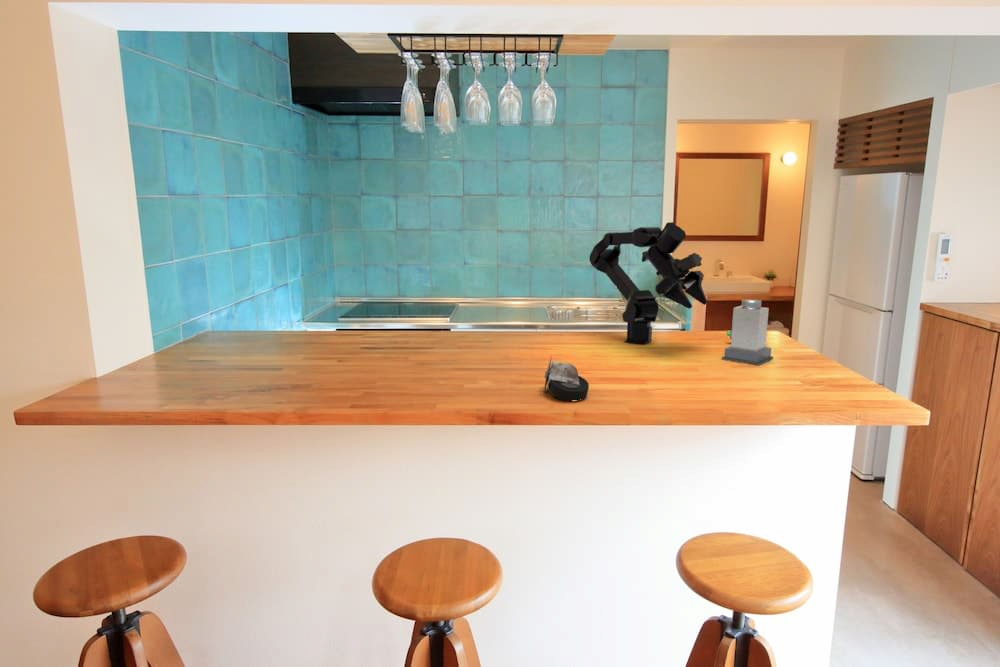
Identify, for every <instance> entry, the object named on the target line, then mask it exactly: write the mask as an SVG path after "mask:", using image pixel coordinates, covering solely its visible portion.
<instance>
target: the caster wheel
mask: <svg viewBox="0 0 1000 667" xmlns="http://www.w3.org/2000/svg"><path fill="white" fill-rule="evenodd" d="M552 358H553V357H552V355H551V356H550V360H549V362H548V366H547V368H546V370H545V373H544V379H545V383H544V389H543V393H545V392H546V389H547V390H548V391H549V392H550V393H551V394H552V396H554V397H556V398H557V399H559V400H562V401H564V400H569V401H568V402H571V401H572V400H580V399H583V400H585V399H586V398H587V397H588V392H589V388H590V386H589V385H590V384H589V382H588V381H587V380H586V379H585V378H584V377H583V376H580V375H579V371H578V369H577V366H575V365H574V364H571V363H566V362H561V361H555V360H552ZM584 398H585V399H584Z"/></svg>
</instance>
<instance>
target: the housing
mask: <svg viewBox="0 0 1000 667" xmlns="http://www.w3.org/2000/svg"><path fill="white" fill-rule="evenodd" d="M769 309H770V308H769V307H762V300H760V299H754V298H753V299H752V298H751V299H750V298H747V299H745V298H743V299H742V300H741V305H739V306H735V307H733V312H732V322H731V323H732V325H731V326H732V327H731V331H732V337H731V339H730V346H731V348H733V349H740V350H746V351H753V352H758V351H760V350H763V349H765V347H767V346H766V345H767V335H768V334H767V333H768V332H767V331H768V324H769V323H768V322H769V321H768V320H769Z"/></svg>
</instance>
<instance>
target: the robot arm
mask: <svg viewBox="0 0 1000 667" xmlns="http://www.w3.org/2000/svg"><path fill="white" fill-rule="evenodd" d="M661 229H662V230H661ZM686 237H687V234H686V232H685V230H684V229H682V228H681V227H680V226H679V225H675V223H674V221H672V222H669V221H667V222H666V224H665V226H664V228H661V227H660V226H645V227H644V226H643V227H641V226H640V227H637V228H635V229H634V230H633V231H627V232H626V231H625V232H617V231H616V232H613V231H612V232H607V233H605V234H604V235H603V238H602V239H601V240H600V241H599V242H597V243H596V244H595V245H594V246H593V248H592V250H591V252H590V254H589V262H590V265H591V266H592V267H593V268H594V269H595V270H596V271H599V272H600V273H604V274H605V275H606V276H607V277H608V278H609V280H610V281H611V282H612V283H613V285H614V286H615V288H616V289H617V290H618V291H619V293H620V294H621V295H622V296H623V298H624V299H625V301H626V309H625V310H624V311H623V313H622V320H623V323H624V322H625V323H627V326H626V339H625V340H624V342H625V343H633V344H640V345H646V344H648V343H650V342H651V341H653V327H652V326H651V325H652V324H651V323H653V322H654V323H655V322H656V321H657V320H656V319H657V316H658V313H659V310H660V309H659V302H658V301H657V297H656V296H655V295H653V294H652V292H651V291H650V290H649V289H644V290H643V289H642V290H641V289H639V288H638V286H637V285H636V284H635V283H634V281H633V280H632V279H631V277H630V276H629V275H628V274H627V273H626V271H625V270H624V269H623V268H622V267H621V266H620V264H619V260H620V255H621V253H622V252H621V245H633V246H635V247H638V248H648V249H647V250H646V251H644V252H643V251H642V256H641V262H642V263H645V262H647V261H649V262H650V264H651V265H652V266H653V267H654V268H655V270H656V272H655V274H656V276H661V277H662V279H661V280H660V281H658V283H657V284H656V285H655V287H654V289H655V290H654V291H655V292H656V294H658V296H662V297H663V298H666V299H669V300H670V301H673V302H675V303H677V304H679V305H681V306H683V307H685V308H686V309H689V310H690V309H691V308H693V305H692V303H691V301H690V300H689V298H688V296H687V295H689V296H690V297H692V298H693V299H695V300H696V301H697V302H699V303H700V304H702V305H703V306H704V305H706V304H708V300H707V297H706V295H705V292H704V290H703V287H702V284H703V283H702V282H703V281H704V276H705V274H704V273H703V272H702V271H701V270H691V269H695V268H697V267H701V266H702V265H703V264H702V259H703V257H701V256H700V254H697V253H696V252H693V253H692V254H691V253H690V254H689V255H688V256H686V257H684V258H682V259H679V258H674V257H673V256H672V253H673V254H674V253H675V252H676V251H677V249H678V248H679V247H680V246H681V244H682V243H683V242H684V241H685V239H686ZM609 246H613V248H608V247H609ZM686 294H687V295H686Z"/></svg>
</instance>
